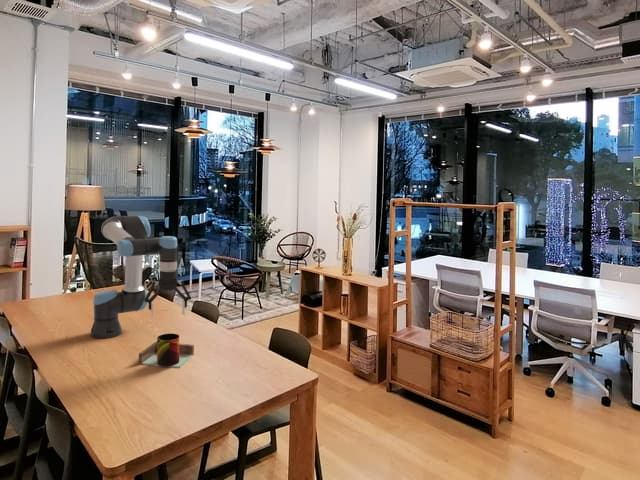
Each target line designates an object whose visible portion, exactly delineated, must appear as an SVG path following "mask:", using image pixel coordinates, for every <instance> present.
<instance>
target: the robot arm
mask: <svg viewBox="0 0 640 480" xmlns="http://www.w3.org/2000/svg"><path fill="white" fill-rule="evenodd" d="M100 227H101V228H100V232H101V234H102V236H103V237H104V238H106V239H107V240H109V241H112V242H113V244H115V245H116V250H117V254H118V255H119V257H125V265H124V266H125V267H124V268H125V269H124V285H123V286H121V291H118V290H117V289H106V290H101V291H98V292H97V293H95V294H94V297H93V323H92V327H91V330H90V336H91V337H92V338H94V339H109V338H113V337H114V338H115V337H118V336H120V335H121V334H122V333H123V329H122V325H121V324H120V323H121V322H120V320H119V315H120V314H125V313H131V312H138V311H143V310H144V309H146V308H147V306H148V310H149V311H151V313H150V314H151V315H150V317H151V318H154V300H155V299H156V298H157V297H158V296H159V295H160V294H161V293H162V292H163V291H165V292H167V291H169V292H170V291H173V290H174V291H175V292H176V293H177V294H178V295H179V296H180V297H181V301H182V303H181V304H182V305H181V306H182V307H181V310H182V311H181V314H182V316H185V308H187V307H188V301H189V300H192V297H191V295H190V292H189V291H188V288H187V287H186V285H185V281H184V279H180V280H178V271H177V269H178V244H179V243H178V238H177V237H176V236H172V235H166V236H165V235H163V236H161V237H153V238H149V237H151V232H152V230H151V224H150V222H149V219H148V218H147V217H145V216H143V215H116V216H111V217H109V218H107V219H106V220H104V221H103V223H102V225H101V226H100ZM155 255H159V280H158V281H157V280H152V281H151V286H150V287H149V290H148V291H147V290H146V289H145V286H143V283H142V282H143V261H144V260H143V259H144V258H143V256H155ZM178 284H179V285H180V286H181V287H182V289H183V291H184V293H185V295H186V296H185V295H184V293H182V291H181V290H180V289H179V288H178V287H177V285H178ZM157 286H159V287H158V289H157V290H156V291H155V292H154V293H153V291H154V289H155V287H157ZM152 294H153V295H152Z"/></svg>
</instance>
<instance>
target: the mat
mask: <svg viewBox="0 0 640 480" xmlns="http://www.w3.org/2000/svg"><path fill="white" fill-rule="evenodd" d="M192 357H194V355H189V354H179V363H178V364H176V365H173V366H165V367H166V368H167V367H168V368H180V369H181V367H182V366H184V365H185V364H186V362H188V361H189V360H190V359H191V358H192ZM141 365H146V366H147V365H148V366H155V367H156V366H157V367H160V366H159V365H158V364H157V352H156V353H155V354H154V355H152V356H151V357H150V358H148V359H147V360H146V361H144V362H143V363H142V364H141Z"/></svg>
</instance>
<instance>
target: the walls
mask: <svg viewBox="0 0 640 480" xmlns="http://www.w3.org/2000/svg"><path fill="white" fill-rule="evenodd" d="M156 352H157V341H154V342H153V343H152V344H151V345H149V346H148V347H146V348H145V349H143V350H141V352H139V353H138V365H143V364H142V363H143V362H144V361H146V360H147V359H148V358H150V357H151V356H152V355H154V354H155V353H156ZM179 354H189V355H193V356H194V355H195V344H189V343H187V344H186V343H179Z"/></svg>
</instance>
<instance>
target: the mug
mask: <svg viewBox="0 0 640 480" xmlns="http://www.w3.org/2000/svg"><path fill="white" fill-rule="evenodd" d="M156 342H157V364H158V365H159V366H158V367H166V366H173V365H176V364H178V363H179V344H180V335H179V334H178V333H163V334H160V335H158V336H157V338H156Z"/></svg>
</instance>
